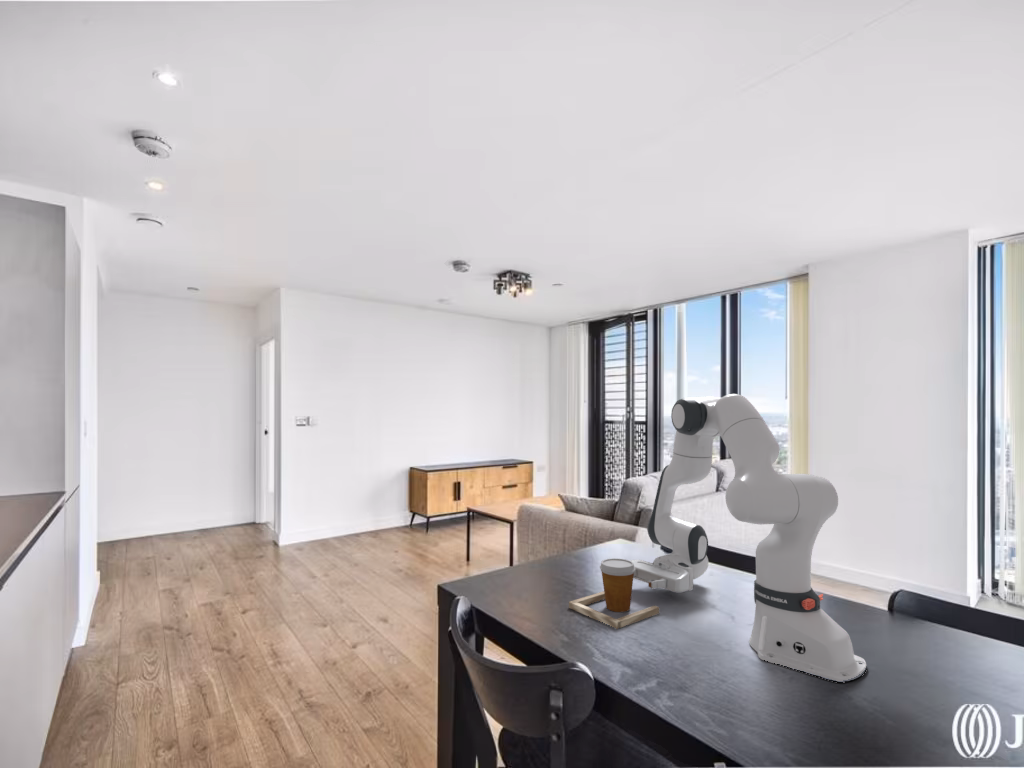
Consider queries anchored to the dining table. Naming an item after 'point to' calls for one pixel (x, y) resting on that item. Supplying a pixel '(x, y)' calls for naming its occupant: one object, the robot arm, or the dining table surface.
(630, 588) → the disposable coffee cup
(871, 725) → the dining table surface
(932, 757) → the dining table surface
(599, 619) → the cup bay
